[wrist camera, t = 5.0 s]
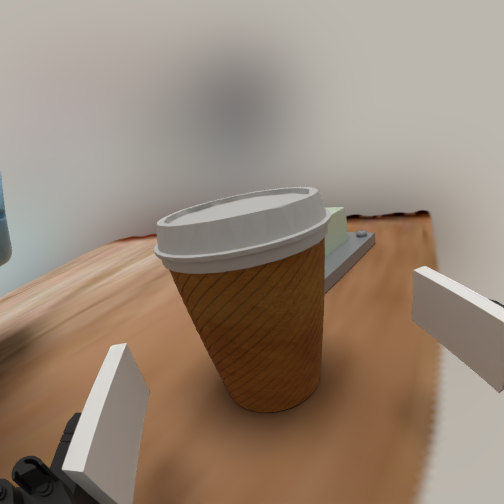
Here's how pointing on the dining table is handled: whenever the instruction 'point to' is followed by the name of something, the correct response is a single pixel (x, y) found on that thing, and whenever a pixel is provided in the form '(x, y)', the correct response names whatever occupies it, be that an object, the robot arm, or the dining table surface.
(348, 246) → the tower base
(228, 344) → the disposable coffee cup
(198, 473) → the dining table surface
